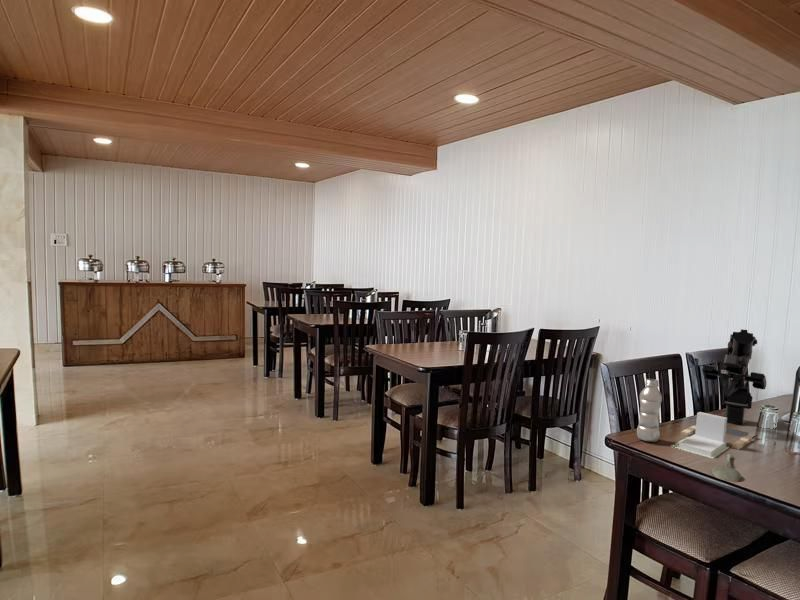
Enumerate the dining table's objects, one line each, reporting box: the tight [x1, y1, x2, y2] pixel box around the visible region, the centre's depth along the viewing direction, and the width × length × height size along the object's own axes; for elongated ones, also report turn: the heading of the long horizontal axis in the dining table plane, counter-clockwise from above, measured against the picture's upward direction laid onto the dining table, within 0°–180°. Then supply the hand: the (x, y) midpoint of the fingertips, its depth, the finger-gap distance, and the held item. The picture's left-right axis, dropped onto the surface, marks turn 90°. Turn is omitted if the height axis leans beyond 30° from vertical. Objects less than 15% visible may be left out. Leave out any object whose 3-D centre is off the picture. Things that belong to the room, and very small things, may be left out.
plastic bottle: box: [636, 378, 663, 443], centre depth 165 cm, size 6×7×20 cm
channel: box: [680, 423, 752, 450], centre depth 172 cm, size 14×17×1 cm
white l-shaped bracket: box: [679, 411, 728, 457], centre depth 161 cm, size 16×9×9 cm, turn 133°
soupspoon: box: [711, 453, 742, 483], centre depth 145 cm, size 22×3×7 cm
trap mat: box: [726, 427, 750, 438], centre depth 181 cm, size 7×16×1 cm, turn 42°
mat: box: [671, 436, 730, 460], centre depth 161 cm, size 16×12×1 cm
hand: (726, 395), depth 176 cm, fingers closed
